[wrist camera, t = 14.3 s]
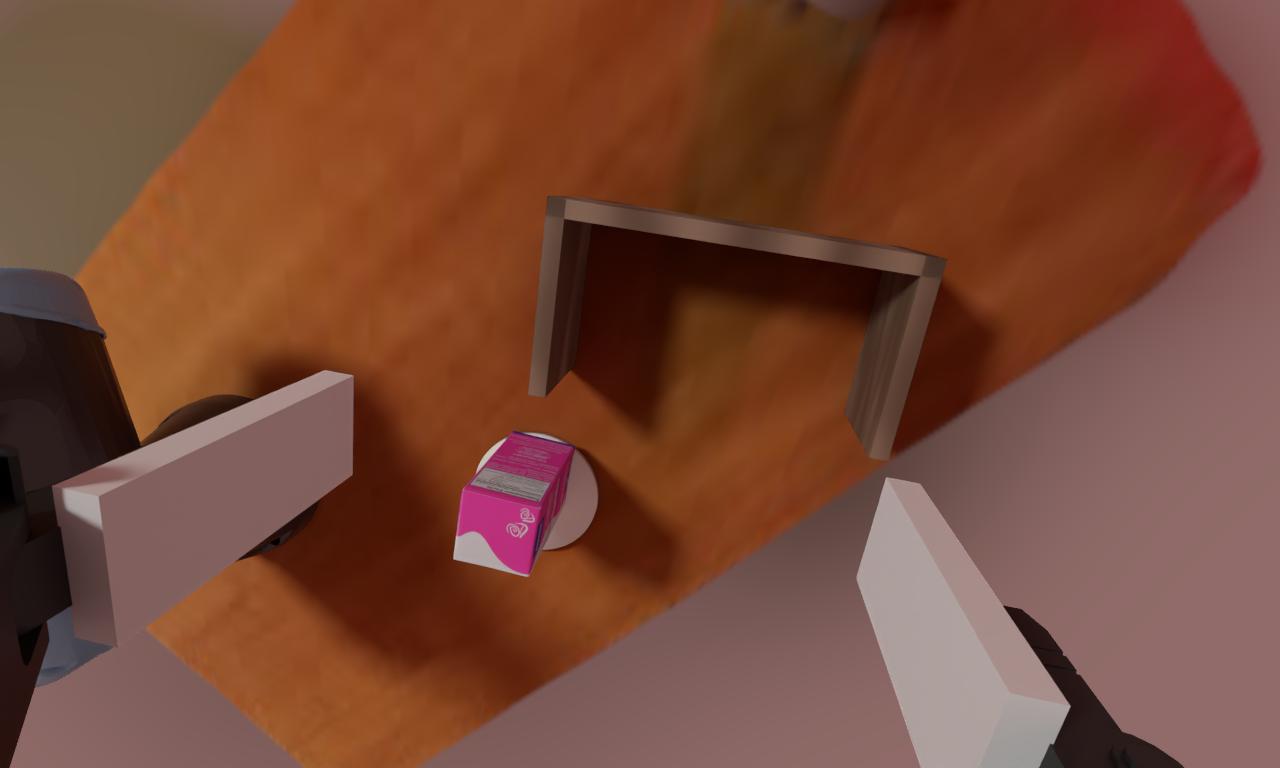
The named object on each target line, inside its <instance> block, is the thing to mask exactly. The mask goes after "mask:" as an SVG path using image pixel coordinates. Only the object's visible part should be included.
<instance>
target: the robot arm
mask: <svg viewBox="0 0 1280 768" xmlns="http://www.w3.org/2000/svg"><path fill="white" fill-rule="evenodd" d="M106 338H107V336H106V333H105V331H104V329H102V328H101V327H100V326H99V325H98V323H97V320H96V318H95V315H94V313H93V311H92V308H91V306H90V303H89V301H88V299H87V296H86V294H85V292H84V290H83V289H82V287H81V286H80V285H79V284H78V283H77V282H75V281H74V280H73V279H71V278H69V277H67V276H66V275H63V274H60V273H57V272H53V271H48V270H41V269H30V268H29V269H27V268H3V267H0V768H9V767H10V764H11V761H12V758H13V754H14V751H15V748H16V745H17V742H18V739H19V736H20V733H21V729H22V726H23V723H24V720H25V717H26V714H27V710H28V707H29V704H30V701H31V697H32V695H33V692H34V688H35V687H40V686H43V685H47V684H49V683H52V682H55V681H57V680H59V679H61V678H63V677H65V676H66V675H68V674H70V673H71V672H73V671H74V670H76V669H78V668H79V667H81V666H82V665H84V664H85V663H87V662H89V661H90V660H92V659H93V658H95V657H97V656H98V655H100V654H102V653H104V652H107V651H109V650H110V649H112V648H113V647H117V648H118V647H119V646H121V645H122V644H123V643H125V642H126V641H128V640H129V639H130V638H132V637H133V636H134V635H136V634H137V633H138V632H140V631H141V630H143V629H144V628H145V627H147V626H148V625H149V624H151V623H152V622H153V621H155V620H156V619H157V618H159V617H160V616H162V615H163V614H164V613H166V612H167V611H168V610H170V609H171V608H172V607H174V606H175V605H176V604H178V603H179V602H181V601H182V600H183V599H185V598H186V597H187V596H189V595H190V594H191V593H193V592H194V591H195V590H197V589H198V588H200V587H201V586H202V585H204V584H205V583H206V582H208V581H209V580H210V579H212V578H213V577H215V576H216V575H217V574H219V573H220V572H221V571H223V570H224V569H225V568H227V567H228V566H229V565H231V564H232V563H234V562H236V561H239V560H243V559H246V558H249V557H252V556H255V555H258V554H261V553H265V552H268V551H270V550H273V549H275V548H277V547H279V546H281V545H282V544H284V543H285V542H287V541H288V540H289V539H291V538H292V537H293V536H294V535H296V534H297V533H298V532H300V531H301V530H302V529H303V528H304V527H305V526H306V525H307V524H308V522H309V521H310V520H311V518H312V516H313V514H314V512H315V510H316V507H317V504H318V500H319V499H320V498H322V497H323V496H324V495H326V494H327V493H329V492H330V491H331V490H333V489H334V488H335V487H337V486H338V485H339V484H341V483H342V482H344V481H345V480H346V479H348V478H349V477H350V476H352V475H353V395H354V376H353V375H348V374H343V373H338V372H333V371H327V370H324V371H322V372H319V373H317V374H314V375H312V376H310V377H307V378H305V379H303V380H300V381H298V382H296V383H293V384H291V385H289V386H286V387H284V388H282V389H279V390H277V391H275V392H272V393H270V394H267V395H265V396H263V397H260V398H258V399H256V400H252V399H249V398H246V397H242V396H236V395H215V396H210V397H207V398H204V399H201V400H198V401H196V402H193V403H191V404H188V405H186V406H183V407H181V408H180V409H178V410H176V411H174V412H173V413H172V414H170V415H169V416H168V417H167V418H166V419H165V420H164V421H163V422H162V423H161V424H160V425H159V426H158V428H157V429H156V430H155V431H153V432H152V433H151V434H150V435H149V436H147V437H146V438H145V439H144V440H143V441H142V442H140V441H139V438H138V435H137V433H136V430H135V427H134V424H133V421H132V418H131V416H130V413H129V410H128V407H127V404H126V402H125V399H124V396H123V393H122V390H121V387H120V385H119V382H118V379H117V376H116V373H115V370H114V368H113V365H112V362H111V359H110V356H109V353H108V351H107V348H106V345H105V342H104V339H106ZM856 578H857V581H858V584H859V587H860V590H861V593H862V596H863V599H864V602H865V605H866V608H867V611H868V614H869V616H870V620H871V623H872V625H873V628H874V631H875V634H876V637H877V640H878V643H879V646H880V649H881V652H882V654H883V658H884V661H885V663H886V666H887V669H888V672H889V675H890V678H891V681H892V684H893V687H894V690H895V693H896V696H897V699H898V702H899V705H900V707H901V710H902V714H903V717H904V719H905V722H906V725H907V728H908V731H909V734H910V737H911V740H912V743H913V746H914V749H915V752H916V755H917V758H918V761H919V763H920V766H921V768H1184V767H1183V766H1182V765H1181V764H1180V763H1179V762H1178V761H1176V760H1175V759H1173V758H1172V757H1170V756H1168V755H1167V754H1166V753H1164V752H1163V751H1161V750H1160V749H1159V748H1157V747H1155V746H1154V745H1152V744H1150V743H1148V742H1146V741H1143V740H1142V739H1139V738H1137V737H1135V736H1133V735H1131V734H1127V733H1124V732H1122V731H1121V730H1120V728H1119V727H1118V726H1117V724H1116V723H1115V722H1114V720H1113V719H1112V718H1111V716H1110V715H1109V713H1108V712H1107V711H1106V709H1105V708H1104V707H1103V705H1102V704H1101V703H1100V701H1099V700H1098V699H1097V697H1096V696H1095V695H1094V693H1093V692H1092V691H1091V689H1090V688H1089V686H1088V685H1087V684H1086V682H1085V681H1084V680H1083V678H1082V677H1081V676H1080V675H1077V674H1076V669H1075V668H1074V666H1073V665H1072V664H1071V662H1070V661H1069V660H1068V658H1067V657H1066V656H1063V652H1062V650H1061V649H1060V647H1059V646H1058V645H1057V644H1056V642H1055V641H1054V639H1053V638H1052V637H1051V635H1050V634H1049V632H1048V631H1047V630H1046V629H1045V628H1043V627H1042V626H1041V625H1040V624H1039V623H1037V622H1036V621H1035V620H1034V619H1033V618H1031V617H1030V616H1029V615H1028V614H1027V613H1025V612H1024V611H1023V610H1022V609H1018V608H1013V607H1008V606H1003V605H1002V604H1001V603H1000V601H999V600H998V598H997V597H996V595H995V594H994V592H993V591H992V589H991V588H990V586H989V585H988V583H987V582H986V580H985V579H984V578H983V576H982V575H981V573H980V572H979V570H978V569H977V567H976V566H975V564H974V563H973V561H972V560H971V559H970V557H969V555H968V554H967V552H966V551H965V549H964V548H963V546H962V545H961V544H960V542H959V541H958V539H957V538H956V536H955V535H954V533H953V532H952V530H951V529H950V527H949V526H948V524H947V523H946V521H945V520H944V519H943V517H942V516H941V514H940V513H939V511H938V510H937V508H936V507H935V505H934V504H933V502H932V501H931V499H930V498H929V497H928V495H927V493H926V492H925V490H924V489H923V488H922V486H921V484H919V483H913V482H908V481H904V480H898V479H893V478H886V480H885V484H884V487H883V490H882V494H881V497H880V501H879V504H878V507H877V510H876V514H875V517H874V520H873V524H872V527H871V531H870V534H869V537H868V541H867V544H866V547H865V551H864V554H863V557H862V561H861V564H860V567H859V571H858V574H857V577H856Z"/></svg>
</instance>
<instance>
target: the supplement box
mask: <svg viewBox="0 0 1280 768" xmlns="http://www.w3.org/2000/svg"><path fill="white" fill-rule="evenodd" d="M574 451H575V446H573V445H569V444H565V443H561V442H557V441H553V440H549V439H545V438H541V437H537V436H532V435H528V434H524V433H520V432H516V431H512V433H511V434H510V435H509V436H508V438H507V439H506V440H505V441H504V442H503V443H502V445H501V446H500V447H499V448H498V449H497V450H496V451H495V453H494V454H493V455H492V456H491V457H490V458H489V460H488V461H487V462H486V463H485V464H484V465H483V467H482V468H481V469H480V470H479V471H478V472H477V473H476V475H475V476H474V477H473V478H472V479H471V480H470V482H469V483H468V484H467V485H466V486H465V487H464V488H463V490H462V495H461V502H460V509H459V516H458V524H457V532H456V540H455V548H454V557H453V559H455V560H459V561H463V562H468V563H472V564H477V565H481V566H485V567H489V568H494V569H497V570H501V571H505V572H509V573H513V574H517V575H521V576H525V577H529V576H530V574H531V572H532V570H533V568H534V566H535V564H536V562H537V560H538V558H539V556H540V554H541V552H542V550H543V547H544V545H545V543H546V542H547V540H548V537H549V535H550V533H551V531H552V529H553V527H554V525H555V523H556V521H557V519H558V517H559V515H560V513H561V511H562V509H563V507H564V505H565V500H566V492H567V485H568V480H569V475H570V470H571V465H572V459H573V455H574Z"/></svg>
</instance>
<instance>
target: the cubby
mask: <svg viewBox="0 0 1280 768" xmlns="http://www.w3.org/2000/svg"><path fill="white" fill-rule="evenodd" d="M592 223H593V224H600V225H606V226H612V227H618V228H625V229H631V230H637V231H643V232H649V233H656V234H662V235H668V236H674V237H681V238H687V239H693V240H699V241H705V242H712V243H718V244H724V245H730V246H737V247H743V248H749V249H755V250H761V251H768V252H774V253H780V254H786V255H793V256H799V257H805V258H811V259H817V260H824V261H830V262H836V263H842V264H849V265H855V266H861V267H867V268H873V269H880V270H882V273H881V276H880V280H879V284H878V288H877V292H876V295H875V299H874V303H873V307H872V311H871V314H870V318H869V322H868V326H867V330H866V333H865V337H864V341H863V345H862V349H861V352H860V356H859V360H858V364H857V368H856V371H855V375H854V379H853V383H852V387H851V390H850V394H849V398H848V402H847V406H846V409H845V415H846V417H847V418H848V420H849V422H850V424H851V426H852V427H853V429H854V431H855V433H856V435H857V436H858V438H859V440H860V442H861V444H862V445H863V447H864V449H865V451H866V453H867V454H868V456H869V458H873V459H878V460H883V461H888V459H889V456H890V453H891V449H892V446H893V442H894V439H895V436H896V432H897V429H898V425H899V422H900V418H901V415H902V412H903V408H904V405H905V401H906V398H907V395H908V391H909V388H910V384H911V381H912V378H913V374H914V371H915V367H916V364H917V360H918V357H919V354H920V350H921V347H922V343H923V340H924V337H925V333H926V330H927V326H928V323H929V319H930V316H931V313H932V309H933V306H934V302H935V299H936V296H937V292H938V289H939V285H940V282H941V279H942V275H943V272H944V268H945V265H946V261H947V259H944V258H941V257H937V256H933V255H930V254H926V253H922V252H919V251H915V250H911V249H908V248H903V247H896V246H890V245H884V244H877V243H871V242H865V241H858V240H852V239H846V238H839V237H833V236H827V235H820V234H814V233H808V232H801V231H795V230H788V229H782V228H776V227H769V226H763V225H757V224H750V223H744V222H738V221H731V220H725V219H719V218H712V217H706V216H699V215H693V214H687V213H680V212H674V211H668V210H661V209H655V208H649V207H642V206H636V205H630V204H623V203H617V202H610V201H604V200H598V199H591V198H585V197H570V196H548V197H547V207H546V217H545V227H544V238H543V248H542V258H541V268H540V278H539V289H538V299H537V309H536V319H535V329H534V340H533V350H532V360H531V370H530V381H529V391H528V395H533V396H538V397H544V398H545V397H546V396H547V395H548V394H549V393H550V392H551V391H552V390H553V388H554V387H555V386H556V385H557V384H558V383H559V382H560V381H561V380H562V379H563V377H564V376H565V375H566V374H567V373H568V372H569V371H570V370H571V369H572V368H573V366H574V365H575V362H576V354H577V346H578V337H579V329H580V321H581V312H582V304H583V296H584V287H585V279H586V271H587V262H588V254H589V246H590V237H591V229H592Z"/></svg>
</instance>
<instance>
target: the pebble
mask: <svg viewBox="0 0 1280 768" xmlns="http://www.w3.org/2000/svg"><path fill="white" fill-rule="evenodd" d="M521 433H524V434H528V435H532V436H537V437H541V438H545V439H549V440H553V441H557V442H561V443H565V444H569V445H571V444H570V443H568V442H567V441H565V440H563V439H561V438H559V437H556V436H554V435H551V434H547V433H542V432H521ZM507 438H508V437H505V438H504V439H502V440H500V441H499V442H497V443H496V444H495V445H494V446H493V447H492V448H491V449H490V450H489V451H488V452H487V453H486V454H485V455H484V457H483V458H482V460H481V462H480V464H479V466H478V468H477V472H478V471H479V470H480V469H481V468H482V467H483V465H484V464H485V463H486V462H487V461H488V460H489V458H490V457H491V456H492V455H493V454H494V453H495V451H496V450H497V449H498V448H499V447H500V446H501V445H502V443H503V442H504V441H505V440H506V439H507ZM477 472H476V473H477ZM598 500H599V490H598V483H597V479H596V476H595V473H594V471H593V469H592V467H591V465H590V464H589V462H588V461H587V459H586V458H585V457H584V456H583V455H582V453H581V452H580V451H579V450H577V449H576V448H575V451H574V455H573V459H572V465H571V470H570V475H569V480H568V485H567V492H566V500H565V505H564V507H563V509H562V511H561V513H560V515H559V517H558V519H557V521H556V523H555V525H554V527H553V529H552V531H551V533H550V535H549V537H548V540H547V542H546V543H545V545H544V547H543V550H548V549H555V548H560V547H563V546H565V545H568V544H570V543H571V542H573V541H575V540H576V539H578V538H579V537H580V536H581V535H582V534H583V533H584V532H585V531H586V530H587V528H588V527H589V525H590V524H591V522H592V520H593V518H594V515H595V513H596V510H597V506H598Z"/></svg>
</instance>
